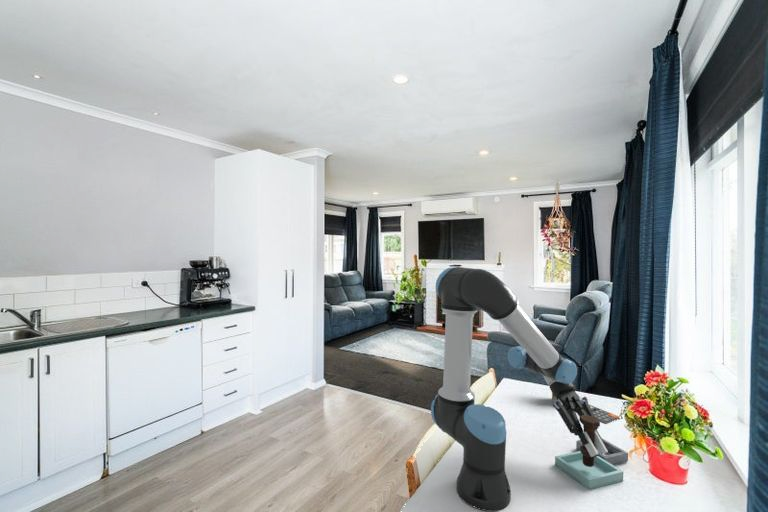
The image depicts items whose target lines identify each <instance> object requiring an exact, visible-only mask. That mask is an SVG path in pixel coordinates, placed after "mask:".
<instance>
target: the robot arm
mask: <svg viewBox="0 0 768 512" xmlns="http://www.w3.org/2000/svg"><path fill="white" fill-rule="evenodd" d="M435 293H436V294H437V296H438V297H439V299H441V310H442V311H443V312H444V313H445V328H444V330H445V331H444V353H443V359H444V360H443V377H442V378H443V381H442V387H440V388H439V389H438V391H437V394H436V395H435V397H434V399H433V400H432V402H431V405H430V406H431V407H430V415H431V419H432V421H433V423H435V425H436V426H437V427H438V428H439V429H440V430H441V431H442V432H443V433H446V434H447V435H448V436H449V437H451V439H453V440H455V442H456V443H458V444H459V445H461V446H462V448H463V455H462V457H463V461H462V465H461V468H460V471H459V473H458V476H457V478H456V493H457V495H458V494H459V495H458V496H459V497H461V498H462V499H463V500H464V501H465V503H466V504H467V503H468V504H467V505H469V504H470V505H472V506H475V507H477V508H480V509H479V510H481V509H485V510H484V511H486V510H492V511H491V512H494V511H493V510H496V511H501V510H504V509H505V508H506V507H508V506H509V505H510V503H511V500H512V499H511V495H512V493H511V486H510V483H509V480H508V476H507V473H506V448H507V447H506V446H507V445H506V444H507V429H506V419H505V418H504V416H503V415H502V414H501V413H500V412H499V411H498V410H497V409H495V408H493V407H491V406H485V405H484V404H480V403H479V404H478V403H477V404H475V397H476V396H475V392H474V391H472V389H471V377H472V376H471V374H472V370H471V369H472V351H473V350H472V348H473V347H472V346H473V328H474V327H473V322H474V315H475V314H476V313H477V312H479V310H481V311H483V312H484V313H486V314H488V316H489V317H490V318H491V319H493V320H494V321H498V322H499V323H500V324H501V326H503V327H504V329H505V330H506V331H507V332H508V334H510V335H511V336H512V338H513V339H514V340H515V341H516V343H518V344H519V345H518V346H513V347H511V348H510V349H509V350H508V353H507V360H508V363H509V365H510V366H511V367H512V368H515V369H518V370H522V369H524V370H527V371H531V372H533V373H535V374H538V375H540V376H543V379H544V380H545V382H546V383H547V385H548V386H549V390H550V391H551V394H552V393H553V395H554V396H555V397H556V398H557V401H556V402H554V403H552V406H553V408H554V409H555V410H556V411H557V412H558V414H559V416H560V418H561V419H562V421H563V422H564V424H565V426H566V427H567V429H568V431H569V432H570V434H573V435H574V436H578V438H579V440H581V442H582V444H583V445H585V447H586V449H587V450H588V452H589V454H590V456H591V457H593V456H595V455H597V454H598V452H599V453H600V455H601V454H603V455H605V454H606V453H608V451H607V449H606V447H605V445H604V444H603V442H602V439H603V438H602V436H601V435H600V433H599V431H598V429H599V427H595V446H596V447H594V445H593V443H592V441H591V439H590V438H589V436H588V434H587V432H583V431H584V428H583V426H582V423H581V422H580V420H579V418H578V417H580V416H582V415H589V416H593V417H595V415H594V413H593V411H592V409H591V408H590V406H589V405H590V404H589V400H588V398H587V397H586V396H583V397H582V396H580V395H579V394H578V393H577V392H576V387H575V385H574V384H573V383H572V382H574V381H575V379H576V378H577V375H578V368H577V365H576V363H575V362H574V361H572V360H569V359H568V358H564V357H562V355H560V353H559V352H558V351H557V350H556V349H555V347H554V346H553V345H552V344H551V342H550V341H549V340H548V339H547V338H546V336H545V335H544V334H543V333H542V331H541V330H540V329H539V328H538V327H537V325H536V324H535V323H534V322H533V321H532V319H531V318H530V317H529V315H528V314H526V312H525V311H524V310H523V309H522V308H521V306H520V304H519V298H518V297H517V296H516V295H515V293H513V290H511V289H510V288H509V287H508V286H507V285H506V284H505V283H504V282H503V281H502V280H501V278H499V277H497V276H496V275H495V274H493V273H492V272H490V271H488V270H486V269H482V268H471V267H470V268H469V267H461V266H454V267H448V268H445V269H444V270H442V272H441V273H440V274H439V275H438V277H437V279H436V282H435ZM595 418H596V417H595ZM597 451H598V452H597ZM461 498H460V499H461ZM462 499H461V500H462ZM463 500H462V501H463ZM464 501H463V502H464ZM470 505H469V506H470ZM472 506H471V507H472ZM475 507H474V508H475ZM477 508H476V509H477Z"/></svg>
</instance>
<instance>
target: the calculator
mask: <svg viewBox="0 0 768 512" xmlns="http://www.w3.org/2000/svg"><path fill="white" fill-rule="evenodd" d="M589 406H590V408H591V409H592V411H593V413H594V415H595V417H596V418H597V419H598V420H599V422H600V423H603V424H605V425H607V424H609V423H613V422H615V421H617V420H616V419H618V420H620V418H619V417H620V416H619V415H617V414H615V413H612V412H608V411H606V410H604V409H602V408H599V407H597V406H594V405H591V404H589ZM614 420H615V421H614ZM612 421H613V422H612Z"/></svg>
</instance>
